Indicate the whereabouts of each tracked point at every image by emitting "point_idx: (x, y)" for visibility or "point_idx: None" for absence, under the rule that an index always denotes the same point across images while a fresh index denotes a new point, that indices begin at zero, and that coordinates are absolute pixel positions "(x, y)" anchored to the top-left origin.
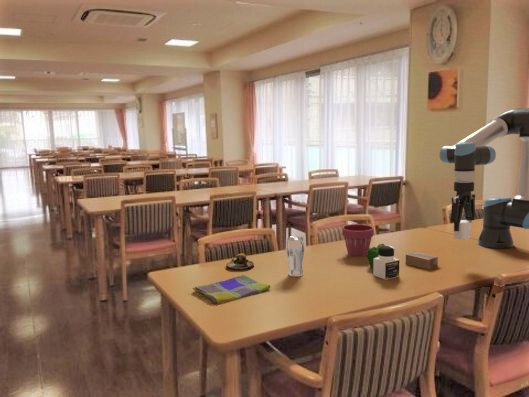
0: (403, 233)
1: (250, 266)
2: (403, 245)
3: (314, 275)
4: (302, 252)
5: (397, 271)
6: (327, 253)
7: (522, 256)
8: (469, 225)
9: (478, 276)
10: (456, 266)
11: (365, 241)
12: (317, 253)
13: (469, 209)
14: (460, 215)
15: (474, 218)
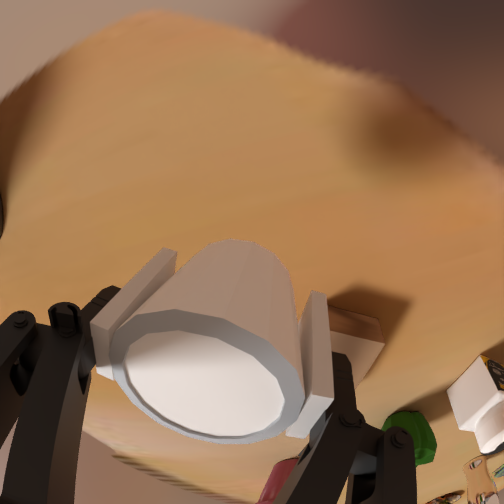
0: None
1: (451, 496)
2: (142, 413)
3: (477, 449)
4: (491, 488)
5: (490, 367)
6: None
7: (23, 86)
8: (245, 307)
9: (386, 122)
10: (281, 238)
11: None
12: None
13: (51, 457)
14: (330, 490)
15: (51, 308)
